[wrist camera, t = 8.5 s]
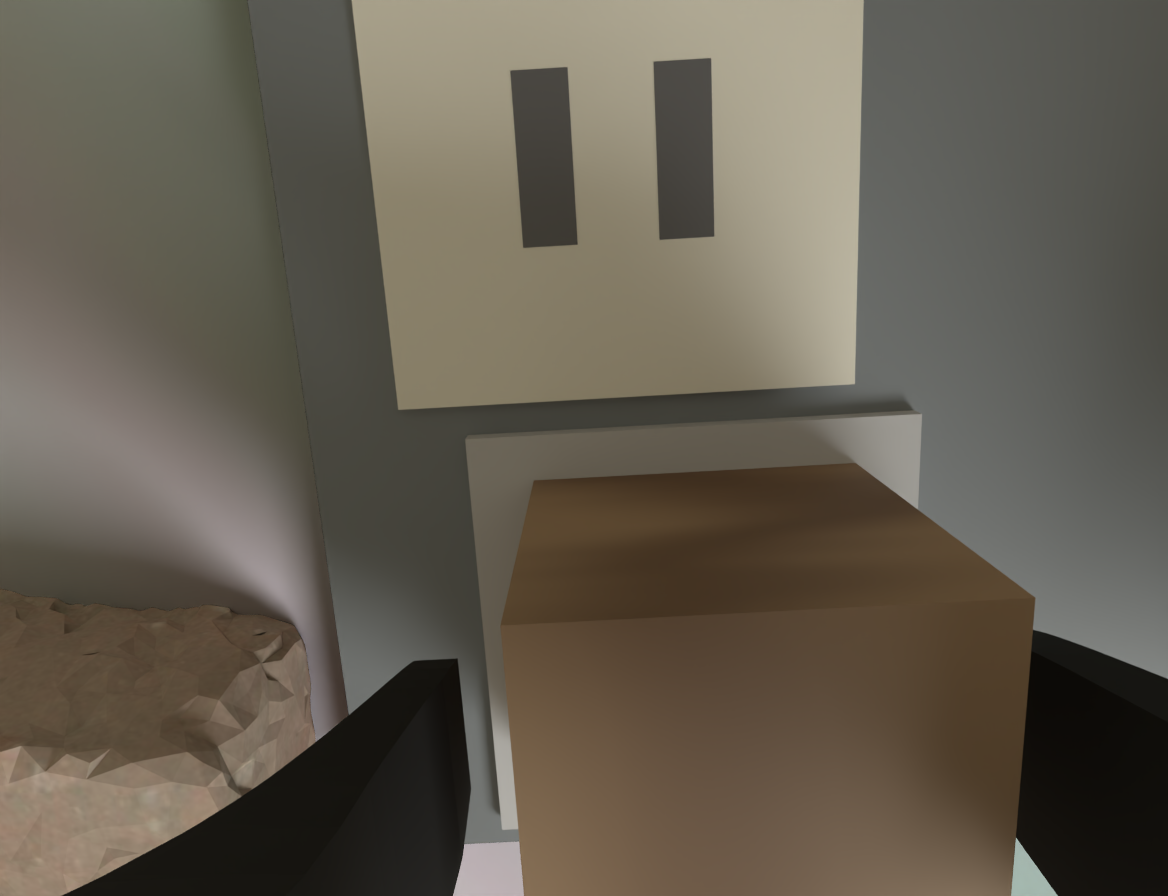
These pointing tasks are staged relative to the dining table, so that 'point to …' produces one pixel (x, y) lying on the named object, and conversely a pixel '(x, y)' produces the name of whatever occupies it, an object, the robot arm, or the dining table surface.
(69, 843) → the brick
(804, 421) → the pad
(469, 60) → the board
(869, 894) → the walnut block
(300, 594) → the dining table surface
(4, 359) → the dining table surface
